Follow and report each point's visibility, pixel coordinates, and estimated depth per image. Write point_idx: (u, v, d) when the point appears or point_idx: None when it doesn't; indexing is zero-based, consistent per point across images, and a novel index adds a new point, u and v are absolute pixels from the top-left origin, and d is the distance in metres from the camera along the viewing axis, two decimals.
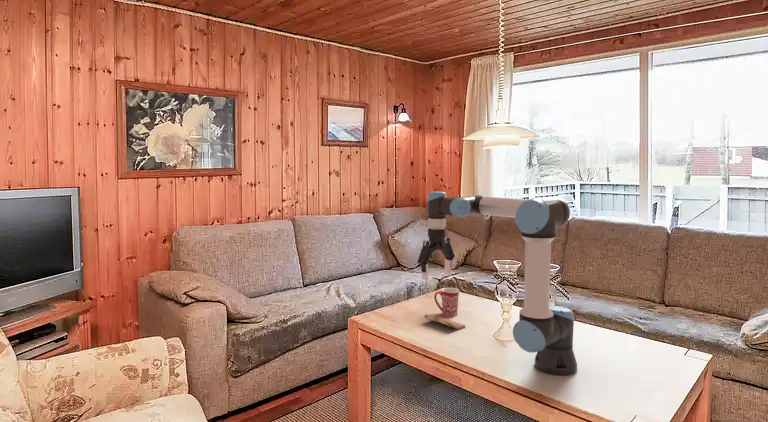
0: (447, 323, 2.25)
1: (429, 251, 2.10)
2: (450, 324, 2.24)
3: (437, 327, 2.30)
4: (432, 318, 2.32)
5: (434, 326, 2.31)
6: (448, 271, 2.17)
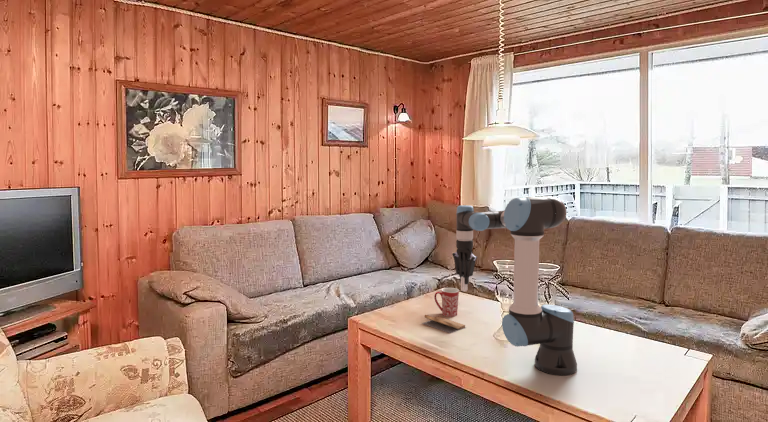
0: (447, 323, 2.25)
1: None
2: (450, 324, 2.24)
3: (437, 327, 2.30)
4: (432, 318, 2.32)
5: (434, 326, 2.31)
6: None
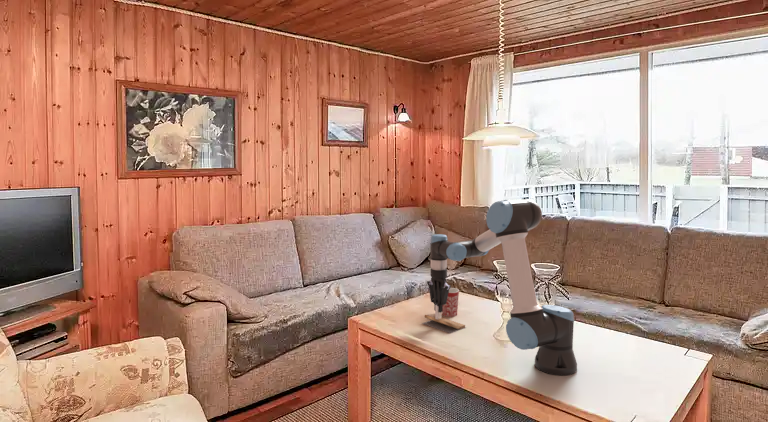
0: (447, 323, 2.25)
1: None
2: (450, 324, 2.24)
3: (437, 327, 2.30)
4: (432, 318, 2.32)
5: (434, 326, 2.31)
6: None
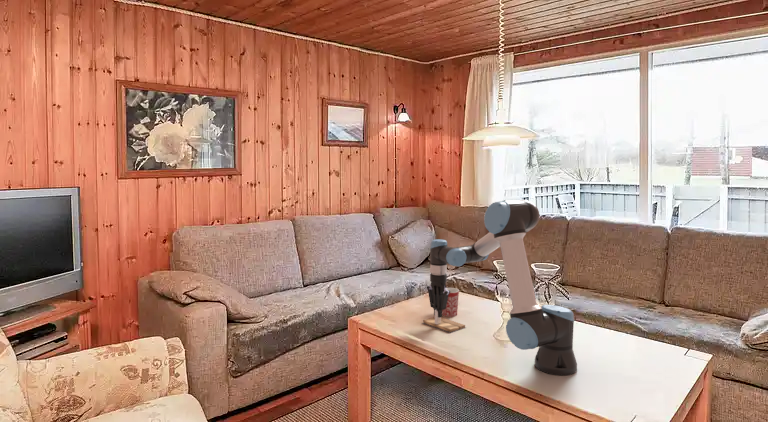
0: (446, 329, 2.25)
1: None
2: (449, 330, 2.23)
3: (437, 327, 2.30)
4: (431, 323, 2.32)
5: (434, 326, 2.31)
6: None
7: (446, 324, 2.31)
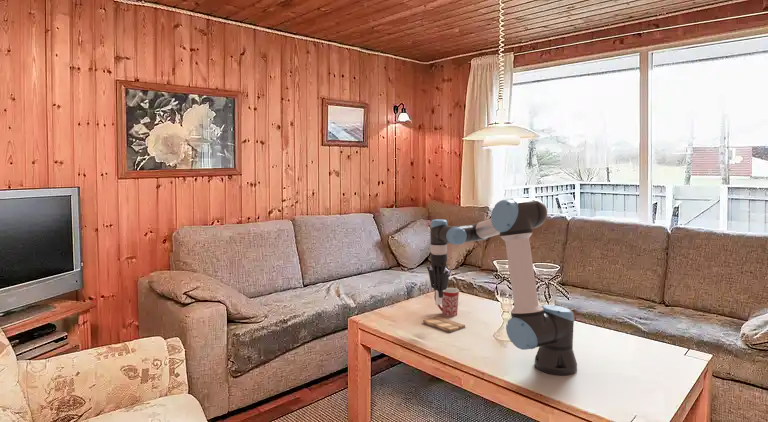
0: (446, 329, 2.25)
1: None
2: (449, 330, 2.23)
3: None
4: (431, 323, 2.32)
5: (434, 326, 2.31)
6: None
7: (446, 324, 2.31)
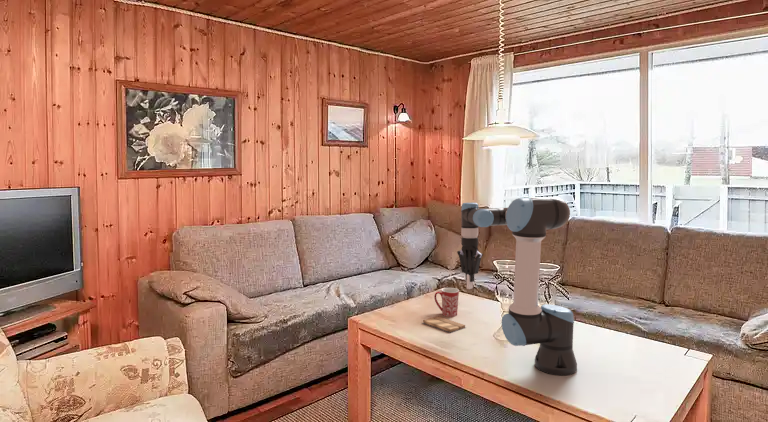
0: (446, 329, 2.25)
1: None
2: (449, 330, 2.23)
3: None
4: (431, 323, 2.32)
5: (434, 326, 2.31)
6: None
7: (446, 324, 2.31)
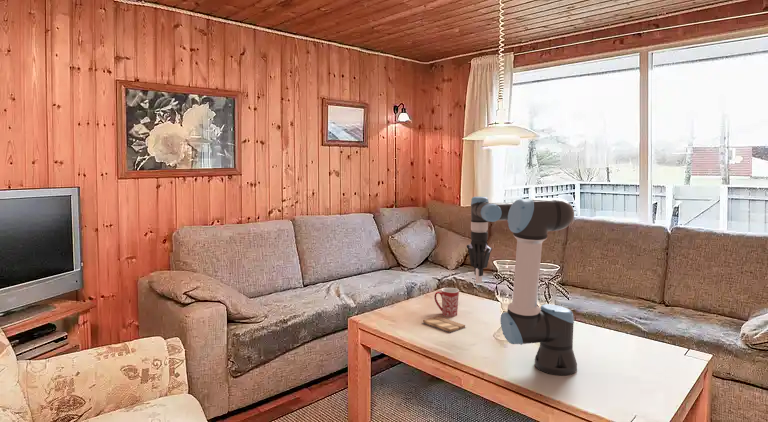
0: (446, 329, 2.25)
1: None
2: (449, 330, 2.23)
3: None
4: (431, 323, 2.32)
5: (434, 326, 2.31)
6: None
7: (446, 324, 2.31)
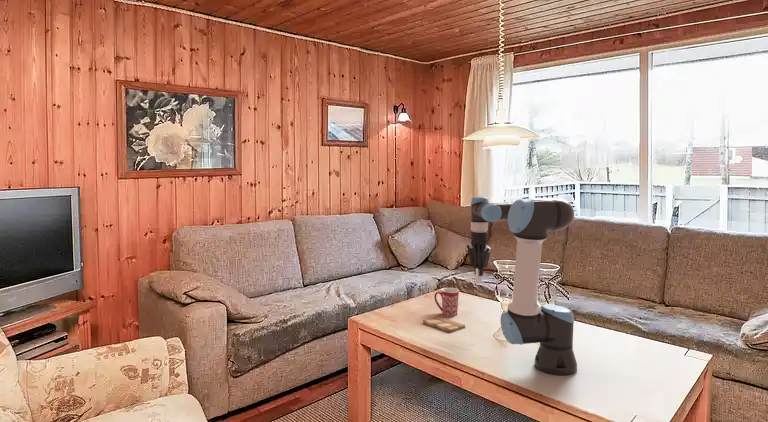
0: (446, 329, 2.25)
1: None
2: (449, 330, 2.23)
3: None
4: (431, 323, 2.32)
5: (434, 326, 2.31)
6: None
7: (446, 324, 2.31)
